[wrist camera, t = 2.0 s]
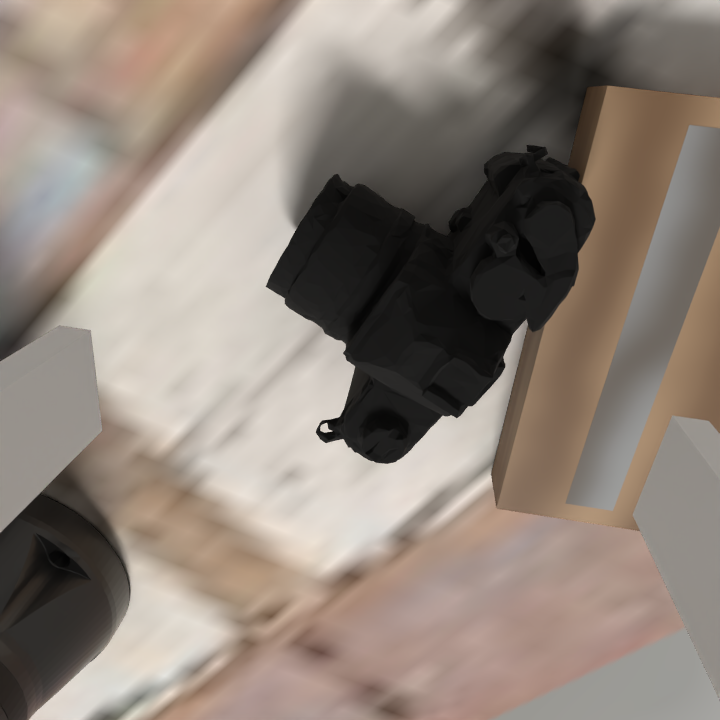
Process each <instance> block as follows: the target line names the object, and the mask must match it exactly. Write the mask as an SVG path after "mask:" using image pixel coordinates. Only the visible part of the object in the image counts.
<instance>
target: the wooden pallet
mask: <svg viewBox="0 0 720 720" xmlns="http://www.w3.org/2000/svg"><path fill="white" fill-rule="evenodd" d="M568 166H569V167H570V168H575V169H576V170H577V171H578V173H579V174H580V177H579V180H578V182H580V183H581V184H582V185H584V186H585V188H586V190H587V192H588V195H589V197H590V198H591V200H592V203H593V208H594V213H595V218H596V220H595V223H594V226H593V229H592V231H591V233H590V235H589V237H588V239H587V240H586V242H585V243H584V245H583V247H582V248H581V250H580V251H579V253H578V263H579V271H578V274H577V278H576V281H575V285H574V287H573V286H572V288H571V290H570V291H569V293H568V295H567V297H566V298H565V299H564V300H563V301H562V303H561V304H560V305H559V306H558V308H557V309H556V311H555V312H554V314H553V315H552V317H551V318H550V319H549V320H548V321H547V323H546V324H545V325H544V326H543V327H542V328H541V329H540V330H538V331H535V332H532V331H531V330H530V329H529V326H528V328H527V332H526V336H525V340H524V344H523V348H522V352H521V356H520V360H519V364H518V368H517V372H516V376H515V380H514V384H513V388H512V392H511V396H510V400H509V405H508V409H507V413H506V417H505V421H504V425H503V429H502V433H501V437H500V441H499V445H498V449H497V453H496V457H495V461H494V465H493V469H492V473H491V476H492V482H493V489H494V495H495V501H496V508H497V509H502V510H509V511H515V512H522V513H528V514H534V515H541V516H547V517H554V518H560V519H566V520H573V521H579V522H586V523H592V524H598V525H605V526H611V527H618V528H624V529H630V530H637V531H640V530H639V527H638V525H637V523H636V521H635V519H634V517H633V512H634V510H635V507H636V505H637V502H638V500H639V497H640V495H641V492H642V490H643V487H644V485H645V482H646V480H647V477H648V475H649V472H650V470H651V467H652V465H653V462H654V460H655V457H656V455H657V452H658V450H659V447H660V445H661V442H662V440H663V437H664V435H665V432H666V430H667V427H668V425H669V422H670V420H671V417H672V416H679V417H686V418H693V419H700V420H706V421H709V422H710V423H711V424H712V425H713V426H714V428H715V429H716V430H717V431H718V432H719V434H720V98H716V97H707V96H698V95H689V94H680V93H671V92H661V91H652V90H643V89H634V88H625V87H616V86H595V87H587V91H586V95H585V99H584V103H583V107H582V111H581V115H580V119H579V123H578V127H577V131H576V135H575V139H574V143H573V147H572V151H571V155H570V159H569V163H568Z"/></svg>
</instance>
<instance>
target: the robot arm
mask: <svg viewBox="0 0 720 720" xmlns="http://www.w3.org/2000/svg"><path fill="white" fill-rule="evenodd" d="M101 431H102V424H101V416H100V407H99V398H98V389H97V381H96V372H95V363H94V355H93V346H92V337H91V330H85V329H78V328H72V327H65V326H58V327H56V328H55V329H53V330H51V331H50V332H48V333H46V334H45V335H43V336H41V337H40V338H38V339H36V340H35V341H33V342H31V343H30V344H28V345H27V346H25V347H23V348H22V349H20V350H18V351H17V352H15V353H13V354H12V355H10V356H8V357H7V358H5V359H4V360H2V361H0V720H29V719H30V718H31V716H32V715H33V714H34V713H35V712H36V711H37V710H38V709H39V708H40V707H41V706H43V705H44V704H45V703H46V702H47V701H48V700H49V699H50V698H52V697H53V696H54V695H55V694H56V693H57V692H58V691H59V690H61V689H62V688H63V687H64V686H65V685H66V684H67V683H68V682H69V681H70V680H71V679H73V678H74V677H75V676H76V675H77V674H78V673H79V672H80V671H81V670H82V669H83V668H84V667H85V666H86V665H87V664H88V663H89V662H91V661H92V660H93V659H95V658H96V657H97V656H98V655H99V654H100V653H101V652H102V651H103V650H104V648H105V647H106V646H107V645H108V643H109V642H110V640H111V639H112V637H113V635H114V633H115V632H116V630H117V628H118V627H119V625H120V623H121V622H122V620H123V618H124V616H125V614H126V612H127V609H128V605H129V585H128V580H127V576H126V573H125V570H124V568H123V566H122V564H121V562H120V560H119V558H118V556H117V555H116V553H115V552H114V550H113V549H112V547H111V546H110V545H109V543H108V542H107V541H106V540H105V539H104V538H103V536H102V535H101V534H100V533H99V532H98V531H97V530H96V529H95V528H94V527H92V526H91V525H90V524H89V523H88V522H87V521H85V520H84V519H83V518H81V517H80V516H79V515H77V514H76V513H74V512H73V511H71V510H70V509H68V508H67V507H65V506H63V505H61V504H60V503H58V502H56V501H54V500H52V499H50V498H47V497H45V496H43V495H40V493H41V492H42V490H43V489H44V488H45V487H46V486H47V485H48V484H49V483H50V482H51V481H52V480H53V479H54V478H55V477H56V476H57V475H58V474H59V473H60V472H61V471H62V470H63V469H64V468H65V467H66V466H67V465H68V464H69V463H70V462H71V461H72V460H73V459H74V458H75V457H76V456H77V455H78V454H79V453H80V452H81V451H82V450H83V449H84V448H85V447H86V446H87V445H88V444H89V443H90V442H91V441H92V440H93V439H94V438H95V437H96V436H97V435H98V434H99V433H100V432H101ZM633 517H634V519H635V521H636V523H637V525H638V527H639V530H640V532H641V534H642V536H643V538H644V540H645V542H646V544H647V547H648V549H649V551H650V553H651V555H652V557H653V559H654V561H655V564H656V566H657V568H658V570H659V572H660V574H661V576H662V578H663V581H664V583H665V585H666V587H667V589H668V591H669V593H670V595H671V598H672V600H673V602H674V604H675V606H676V608H677V610H678V613H679V615H680V617H681V619H682V621H683V623H684V625H685V627H686V630H687V632H688V634H689V636H690V638H691V640H692V642H693V644H694V646H695V649H696V651H697V653H698V655H699V657H700V659H701V661H702V664H703V666H704V668H705V670H706V672H707V674H708V676H709V678H710V680H711V683H712V684H713V687H714V689H715V691H716V693H717V695H718V698H719V700H720V434H719V432H718V431H717V430H716V429H715V428H714V426H713V425H712V424H711V423H710V422H709V421H706V420H700V419H693V418H686V417H679V416H672V417H671V420H670V422H669V425H668V427H667V430H666V432H665V435H664V437H663V440H662V442H661V445H660V447H659V450H658V452H657V455H656V457H655V460H654V462H653V465H652V467H651V470H650V472H649V475H648V477H647V480H646V482H645V485H644V487H643V490H642V492H641V495H640V497H639V500H638V502H637V505H636V507H635V510H634V512H633Z"/></svg>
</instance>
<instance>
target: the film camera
mask: <svg viewBox="0 0 720 720" xmlns="http://www.w3.org/2000/svg"><path fill="white" fill-rule="evenodd" d="M527 151H528V152H531V153H525V154H522V153H510V152H504V153H501V154H499V155H496V156H494V157H493V158H492V159H490V160H489V161H488V162H487V163H486V164H484V173H485V174H486V176H487V178H488V180H487V182H486V183H485V185H484V186H483V187H482V189H481V190H480V192H479V193H478V195H477V196H476V198H475V199H474V200H473V202H472V203H471V205H470V206H469V207H468V208H461V209H460V210H458V211H456V212H455V213H454V215H453V216H452V218H451V220H450V221H449V227H450V230H451V232H450V234H449V235H448V236H447V237H446V236H444V235H442V234H440V233H438V232H436V231H434V230H433V229H431V227H430V225H429V224H425V225H423V224H419V223H417V222H415V221H414V218H415V217H414V216H413V215H411V214H410V213H408V212H407V211H405V210H404V209H399V208H397V207H394V206H392V205H391V204H389V203H388V202H387V201H385V200H384V199H383V198H382V197H380V196H379V195H378V194H376V193H375V192H374V191H372V190H371V189H370V188H368V187H367V186H365V185H362V184H357V185H356V186H355V187H351V186H349V185H348V184H347V183H346V182H342V180H341V178H340V177H339V175H338V174H336V175H334V176H333V177H332V178H331V179H330V180H329V181H328V182H327V184H326V185H325V187H324V189H323V190H322V192H321V193H320V194H319V195H318V197H317V198H316V199H315V201H314V203H313V204H312V206H311V208H310V209H309V211H308V213H307V214H306V216H305V217H304V218H303V220H302V221H301V222H300V224H299V226H298V228H297V229H296V231H295V233H294V235H293V236H292V238H291V240H290V242H289V245H288V246H287V248H286V249H285V251H284V253H283V254H282V256H281V257H280V259H279V261H278V263H277V265H276V267H275V269H274V270H273V272H272V274H271V276H270V278H269V280H268V283H267V285H266V287H267V288H269V289H271V290H272V291H274V292H275V293H277V294H279V295H281V296H282V297H284V298H285V304H286V306H287V307H288V308H290V309H291V310H293V311H295V312H296V313H298V314H300V315H301V316H303V317H304V318H306V319H308V320H311V321H313V322H315V323H316V324H318V325H319V326H320V327H322V328H323V330H324V332H325V334H327V335H329V336H331V337H333V338H334V339H336V340H342V341H343V342H345V343H346V350H345V351H344V353H343V354H344V355H345V356H346V360H347V361H349V362H350V363H351V364H353V365H354V366H355V370H354V374H353V378H352V382H351V386H350V390H349V393H348V397H347V401H346V404H345V408H344V410H343V412H342V414H341V416H340V417H338V418H335V419H330V420H323V421H321V423H320V424H319V426H318V428H317V430H316V433H317V435H318V436H319V438H320V439H321V440H322V441H324V442H325V443H328V442H331V441H335V440H340V439H344V440H345V442H346V444H347V446H348V447H351V448H352V450H353V451H354V452H357V453H359V454H360V455H362V456H363V457H364V458H366V459H368V460H370V461H374V462H376V463H385V464H388V463H393V462H396V461H397V460H399V459H400V458H402V457H403V456H404V455H406V454H407V453H408V452H409V451H410V450H411V449H412V448H413V446H414V445H415V444H416V443H417V442H418V441H419V440H420V439H421V438H422V437H423V436H424V435H425V434H426V433H427V431H428V430H429V429H430V428H431V427H432V426H433V425H434V424H435V423H436V422H437V421H438V420H439V419H440V418H441V417H442V415H443V416H450V415H452V416H454V417H456V418H458V417H459V416H460V415H461V414H462V413H463V412H464V411H465V409H466V408H467V407H468V406H473V405H474V404H475V403H476V402H477V401H478V400H479V399H480V398H481V397H482V395H483V394H484V393H485V392H486V391H487V390H488V389H489V388H490V387H491V386H492V385H493V384H494V382H495V381H496V380H497V379H498V378H499V377H500V375H501V374H502V372H503V370H504V368H505V363H504V359H503V356H504V353H505V351H506V349H507V347H508V345H509V343H510V342H511V338H512V335H513V333H514V332H515V331H516V330H517V329H518V328H519V326H520V325H521V324H522V323H523V322H524V321H525V320H526V318H527V322H528V326H529V329H530V330H531V331H532V332H535V331H538V330H540V329H541V328H542V327H543V326H544V325H545V324H546V323H547V321H548V320H549V319H550V318H551V317H552V315H553V314H554V312H555V311H556V309H557V308H558V306H559V305H560V304H561V303H562V301H563V300H564V299H565V298H566V297H567V295H568V293H569V291H570V290H571V288H572V286H573V287H574V285H575V281H576V278H577V274H578V271H579V263H578V253H579V251H580V250H581V248H582V247H583V245H584V243H585V242H586V240H587V239H588V237H589V235H590V233H591V231H592V229H593V226H594V223H595V220H596V218H595V213H594V208H593V203H592V200H591V198H590V197H589V195H588V192H587V190H586V188H585V186H584V185H582V184H581V183H580V182H578V180H579V177H580V174H579V173H578V171H577V170H576V169H575V168H570V167H569V166H566V165H564V164H562V163H560V162H559V161H556V160H555V159H552V158H548V159H547V160H545V161H544V160H542V159H541V158H542V157H544V156H546V155H547V154H548V152H547V150H546V147H539V146H532V145H527ZM325 423H327V424H328V428H329V429H330V430H332V432H327V433H324V432H322V431H320V427H321V425H322V424H325Z"/></svg>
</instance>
